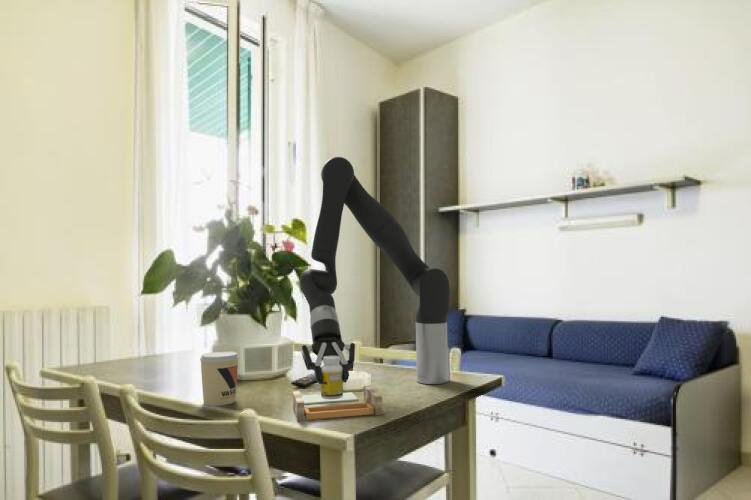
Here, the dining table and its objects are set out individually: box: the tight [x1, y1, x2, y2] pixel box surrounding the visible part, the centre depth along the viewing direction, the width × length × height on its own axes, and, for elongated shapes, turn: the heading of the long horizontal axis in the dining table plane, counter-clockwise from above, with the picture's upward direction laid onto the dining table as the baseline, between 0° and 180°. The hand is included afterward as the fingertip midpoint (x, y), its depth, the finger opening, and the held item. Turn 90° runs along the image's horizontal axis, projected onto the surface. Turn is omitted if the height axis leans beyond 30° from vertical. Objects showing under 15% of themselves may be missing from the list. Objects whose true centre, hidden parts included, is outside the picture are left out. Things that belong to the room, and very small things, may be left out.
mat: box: [301, 391, 359, 406], centre depth 132 cm, size 8×14×1 cm, turn 104°
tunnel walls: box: [291, 385, 383, 423], centre depth 120 cm, size 12×19×4 cm, turn 104°
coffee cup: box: [199, 351, 239, 407], centre depth 131 cm, size 9×9×12 cm
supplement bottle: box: [320, 356, 344, 399], centre depth 127 cm, size 5×5×10 cm
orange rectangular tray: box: [304, 402, 374, 422], centre depth 117 cm, size 6×15×2 cm, turn 104°
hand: (333, 381), depth 125 cm, fingers closed on supplement bottle, 5 cm apart
